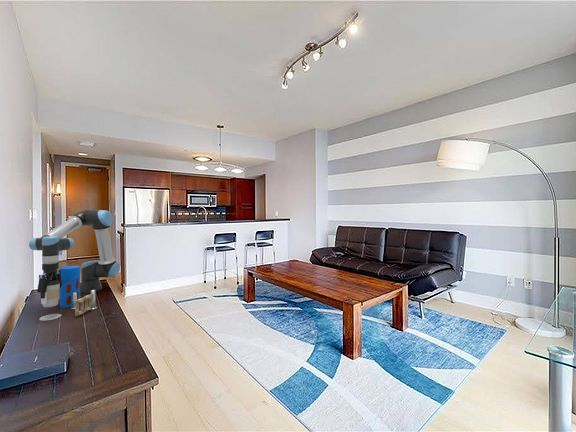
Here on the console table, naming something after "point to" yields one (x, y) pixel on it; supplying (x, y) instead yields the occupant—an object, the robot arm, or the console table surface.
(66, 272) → the thermos
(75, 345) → the console table surface
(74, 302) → the post
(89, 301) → the gate
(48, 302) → the coffee cup
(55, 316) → the coaster
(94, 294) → the hinge post
